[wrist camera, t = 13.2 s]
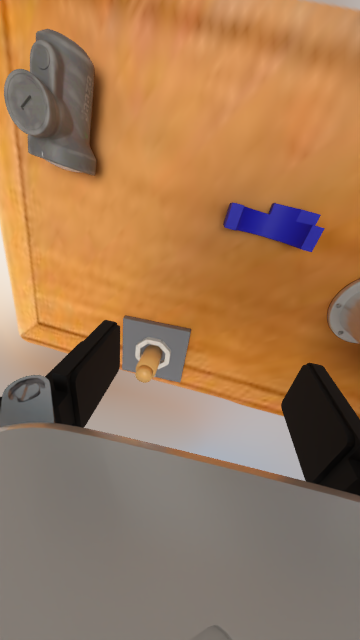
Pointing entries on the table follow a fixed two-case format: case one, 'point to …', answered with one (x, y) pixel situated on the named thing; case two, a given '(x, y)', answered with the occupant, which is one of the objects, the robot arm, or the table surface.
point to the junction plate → (158, 334)
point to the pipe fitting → (55, 102)
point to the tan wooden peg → (148, 363)
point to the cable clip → (277, 224)
